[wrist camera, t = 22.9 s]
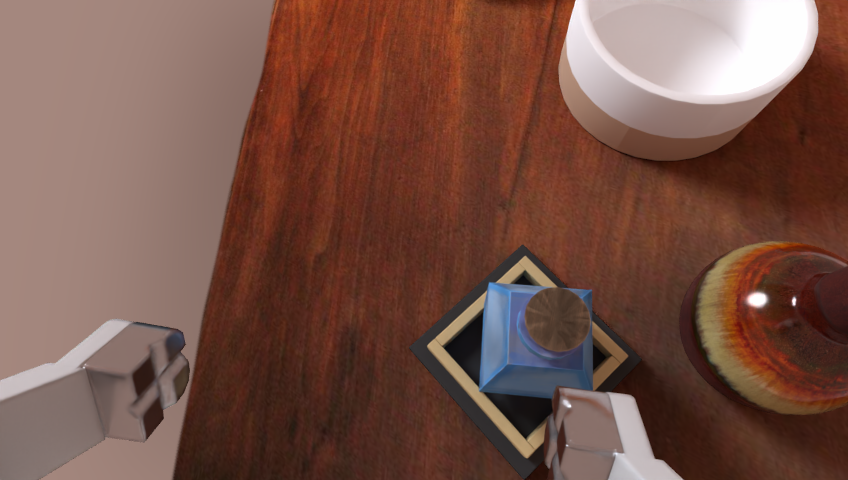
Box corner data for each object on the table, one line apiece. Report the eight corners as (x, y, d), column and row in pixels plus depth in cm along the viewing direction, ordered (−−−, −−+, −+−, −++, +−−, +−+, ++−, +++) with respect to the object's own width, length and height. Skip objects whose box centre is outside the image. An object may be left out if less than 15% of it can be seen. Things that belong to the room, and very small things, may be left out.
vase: (755, 242, 40) (926, 142, 26) (853, 374, 36) (1116, 345, 22) (633, 302, 39) (738, 232, 25) (720, 443, 36) (904, 460, 21)
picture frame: (522, 478, 36) (527, 482, 33) (409, 349, 39) (406, 344, 37) (637, 360, 38) (649, 356, 35) (521, 248, 41) (525, 237, 39)
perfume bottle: (570, 400, 35) (625, 391, 23) (479, 391, 35) (489, 378, 24) (570, 310, 37) (620, 262, 25) (484, 303, 37) (496, 253, 26)
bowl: (728, -7, 48) (781, -90, 40) (780, 154, 42) (854, 94, 35) (545, 9, 49) (562, -69, 41) (572, 170, 43) (598, 114, 35)
